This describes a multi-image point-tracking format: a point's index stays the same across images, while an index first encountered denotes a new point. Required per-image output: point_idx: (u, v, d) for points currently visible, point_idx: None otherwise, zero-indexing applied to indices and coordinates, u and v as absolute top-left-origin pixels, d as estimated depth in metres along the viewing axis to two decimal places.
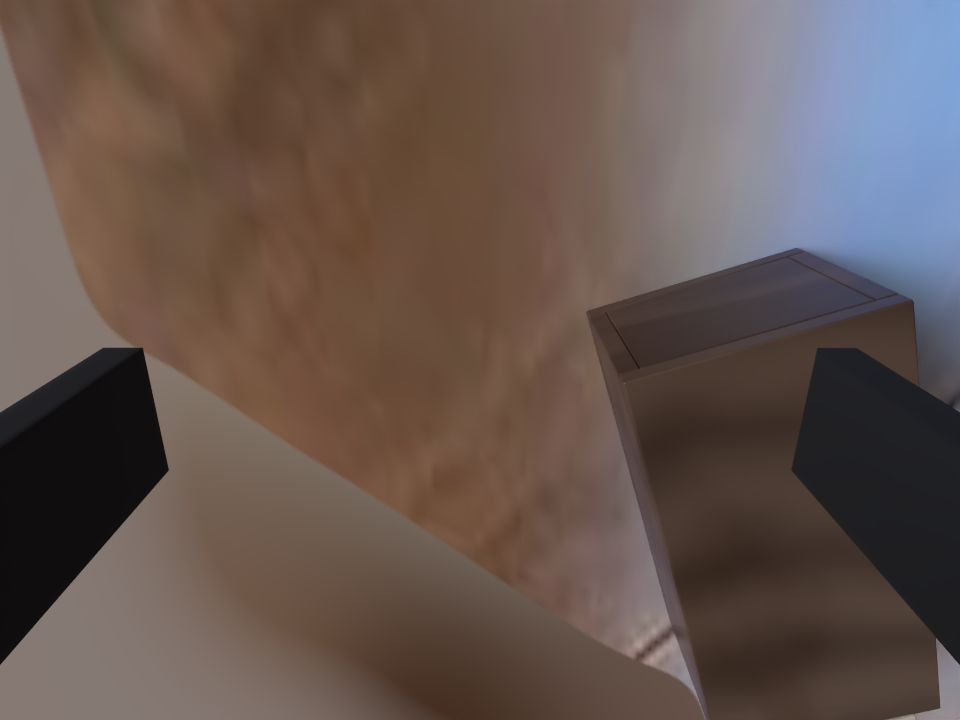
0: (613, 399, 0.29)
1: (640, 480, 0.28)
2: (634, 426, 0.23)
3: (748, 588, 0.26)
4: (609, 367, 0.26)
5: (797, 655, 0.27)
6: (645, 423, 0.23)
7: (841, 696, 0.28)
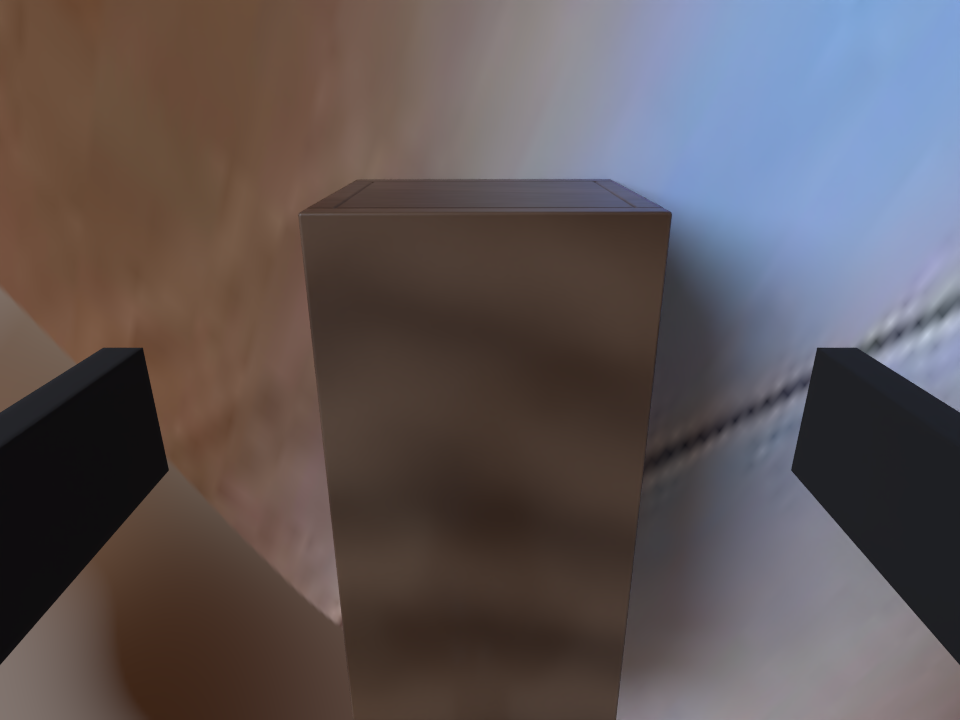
0: None
1: None
2: (306, 280, 0.18)
3: (418, 538, 0.21)
4: None
5: (464, 639, 0.22)
6: (320, 279, 0.18)
7: (506, 700, 0.24)
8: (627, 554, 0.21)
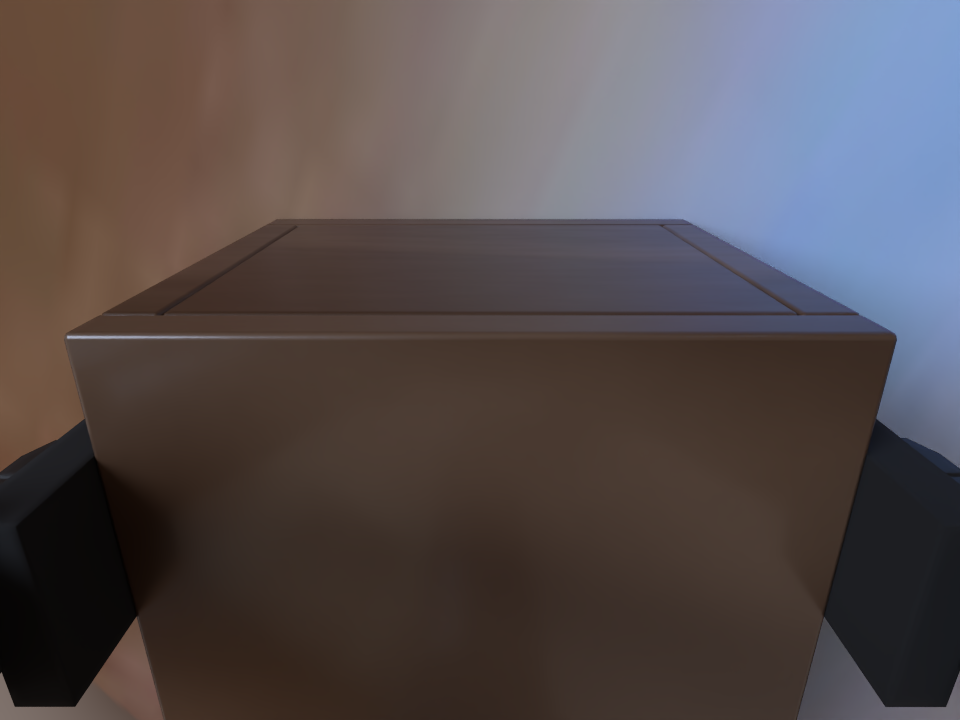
0: None
1: None
2: (99, 466, 0.08)
3: None
4: None
5: None
6: (127, 467, 0.08)
7: None
8: None
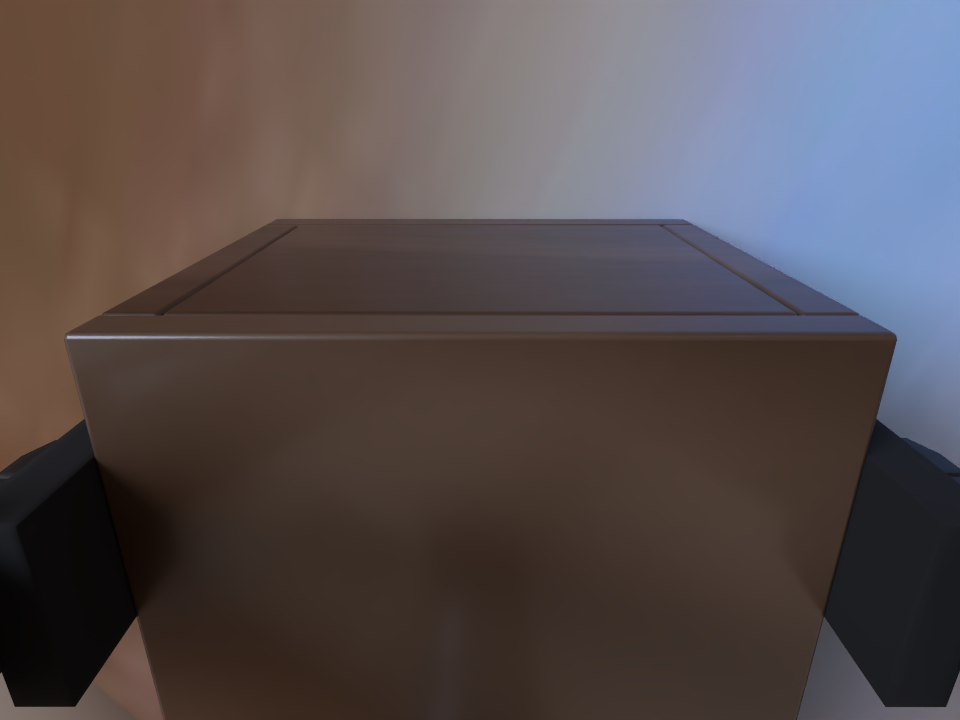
0: None
1: None
2: (99, 466, 0.08)
3: None
4: None
5: None
6: (127, 467, 0.08)
7: None
8: None
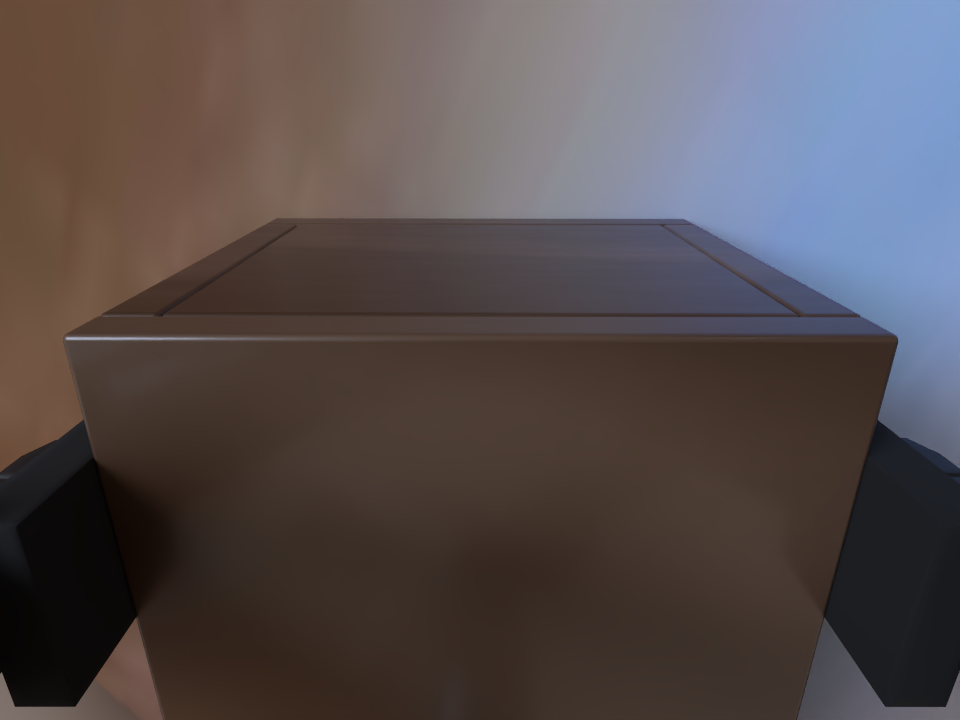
0: None
1: None
2: (99, 468, 0.08)
3: None
4: None
5: None
6: (127, 468, 0.08)
7: None
8: None
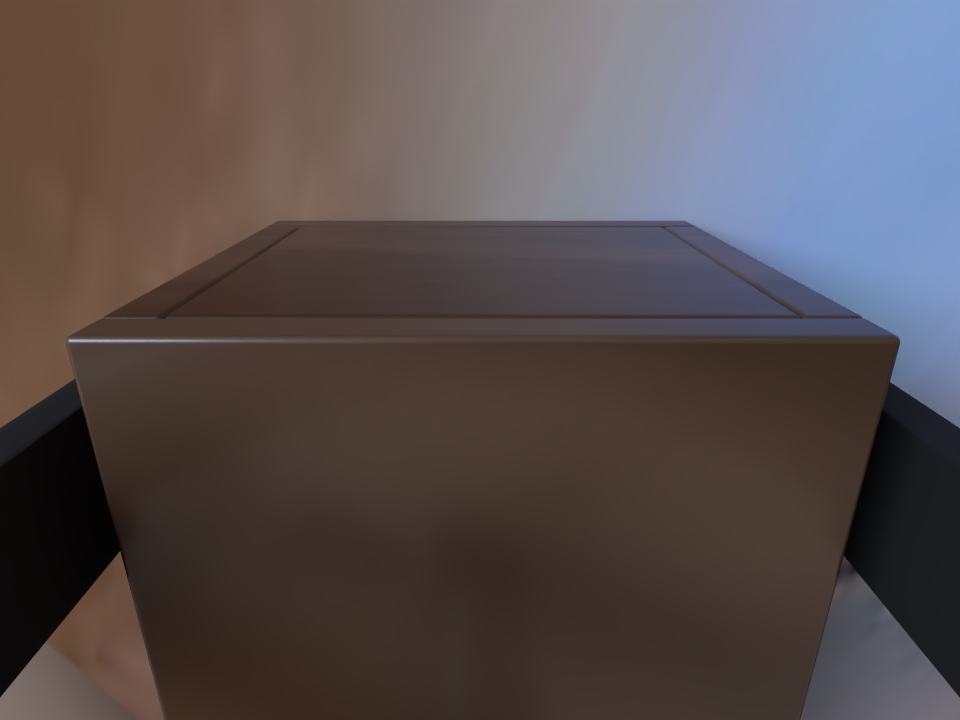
0: None
1: None
2: (101, 470, 0.08)
3: None
4: None
5: None
6: (129, 470, 0.08)
7: None
8: None
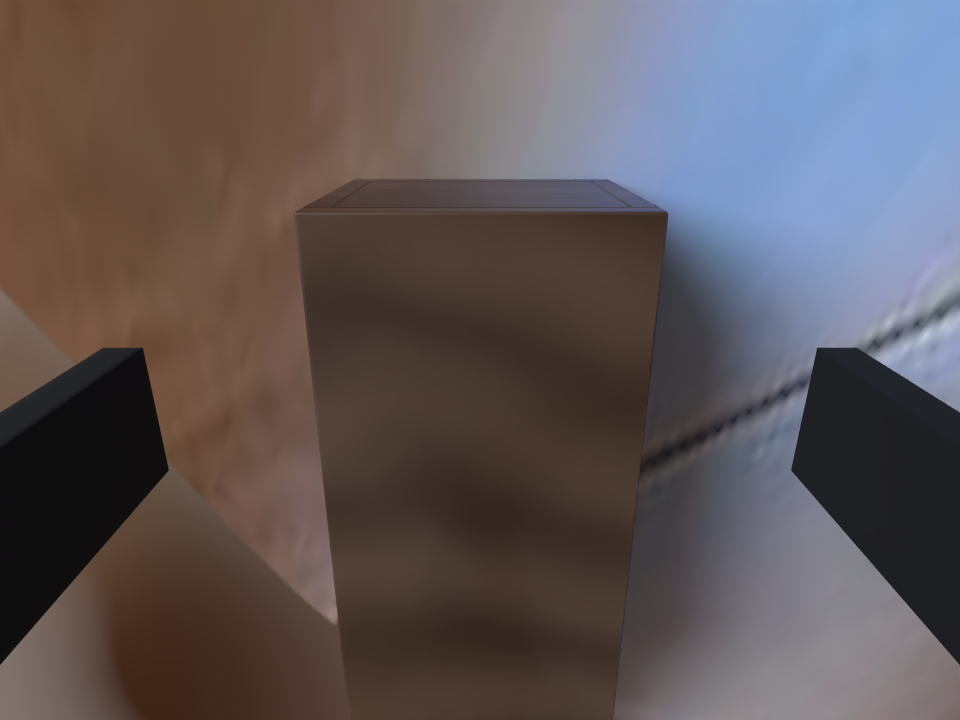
0: None
1: None
2: (302, 279, 0.18)
3: (414, 539, 0.21)
4: None
5: (460, 639, 0.22)
6: (315, 279, 0.17)
7: (502, 701, 0.23)
8: (624, 555, 0.21)
